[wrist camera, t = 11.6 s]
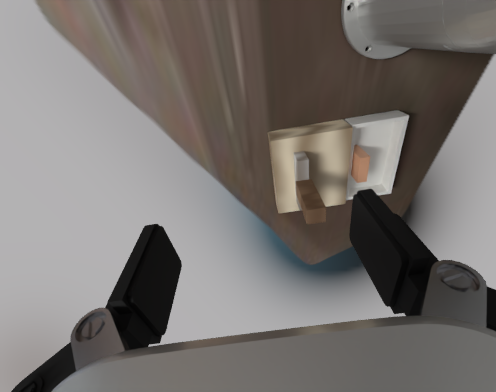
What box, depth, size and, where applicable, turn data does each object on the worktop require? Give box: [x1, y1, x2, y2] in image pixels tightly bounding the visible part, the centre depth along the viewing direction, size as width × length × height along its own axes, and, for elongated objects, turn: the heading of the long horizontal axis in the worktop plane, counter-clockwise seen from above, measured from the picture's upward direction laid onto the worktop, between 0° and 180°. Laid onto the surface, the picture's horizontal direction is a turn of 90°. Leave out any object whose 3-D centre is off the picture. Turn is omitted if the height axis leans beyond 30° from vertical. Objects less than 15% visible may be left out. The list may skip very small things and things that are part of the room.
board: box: [268, 119, 353, 213], centre depth 40 cm, size 12×14×4 cm
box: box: [345, 110, 409, 200], centre depth 39 cm, size 8×14×3 cm, turn 9°
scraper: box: [293, 151, 326, 224], centre depth 34 cm, size 2×9×10 cm, turn 9°
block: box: [351, 145, 370, 183], centre depth 38 cm, size 4×4×2 cm
